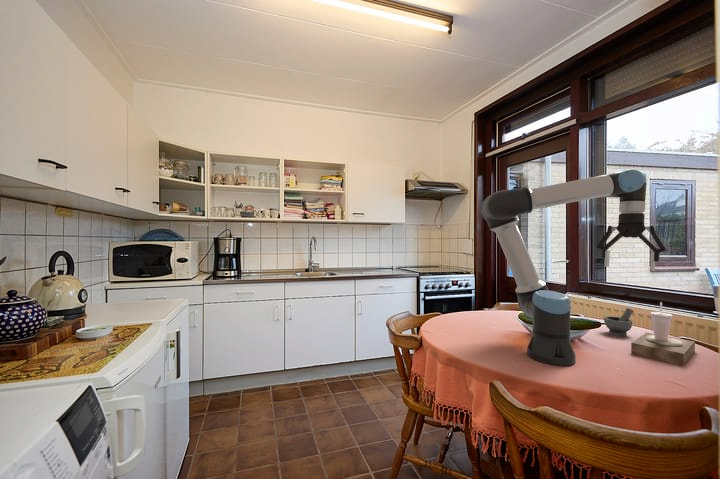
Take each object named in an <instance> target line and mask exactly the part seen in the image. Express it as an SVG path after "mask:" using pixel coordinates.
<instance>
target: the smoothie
mask: <svg viewBox="0 0 720 479" xmlns="http://www.w3.org/2000/svg"><path fill="white" fill-rule="evenodd" d="M649 315H650V316H651V317H650V318H651V322H652V324H651V325H652V331H653V334H654V338H655V339H658V340H664V341H667V340H668V337H670V331H671V330H670V329H671V325H672V319H673V318H674V315H673V314H671V313H668V312H667V313H666V312H663V302H662V301H660V302H659V311H651V312H650V313H649Z"/></svg>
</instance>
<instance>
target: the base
mask: <svg viewBox="0 0 720 479" xmlns="http://www.w3.org/2000/svg"><path fill="white" fill-rule="evenodd" d="M695 345H696V341H694V340H689V339H684V338H678V337H674V336H673V337H672V336H668V340H667V341H664V340H658V339H655V338H654V333H652V332H645V333H644V334H642V335H640V336H639V337H637V338H636V339H635V340H633V341H632V342H631V348H630V350H631V352H630V353H631V354H634V355H637V356H638V355H639V356H642V357H646V358H650V359H654V360H659V361H664V362H668V363H670V364H671V363H672V364H676V365H681V366H685V365H686V363H687V362H688V361H689V360H690V358H692V356H693V355H694V353H695V352H696V346H695Z"/></svg>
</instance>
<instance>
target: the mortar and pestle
mask: <svg viewBox="0 0 720 479" xmlns="http://www.w3.org/2000/svg"><path fill="white" fill-rule="evenodd" d="M633 313H634V310H633V309H632V308H629V307H626V308H625V311H624V312H623V314H622V315H621V316H620V317H619V316H604V317H603V321H604V322H603V323H604V324H605V326H606V328H607V329H608V330H609V331H608V333H609V334H610V335H612V336H617V337H627V336H628V333H627V332H629V331H630V330H631V329H632V326H633V320H631V319H630V318H631V316H632V314H633Z"/></svg>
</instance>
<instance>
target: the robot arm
mask: <svg viewBox="0 0 720 479" xmlns="http://www.w3.org/2000/svg"><path fill="white" fill-rule="evenodd" d="M647 179H648V178H647V174H646V172H644V171H641V170H640V169H637V168H629V169H624V170H622V171H618V172H613V173H607V174H602V175H598V176H593V177H592V176H591V177H587V178H582V179H577V180H576V179H575V180H571V181H566V182H561V183H556V184H551V185H545V186H541V187H534V188H529V187H528V186H525V187H521V188H512V189H503V190H498V191H495V192H494V193H492V194H490V195H488V196H486V198H485V199H484V200H483V201H482V203H481V206H480V213H481V216H482V218H483V219H484V220H485V221H486V222H487V225H488V228H489V231H492V232H494V233H495V234H496V236H497V239H498V242H499V244H500V247H501V249H502V251H503V254H504V256H505V260H506V261H507V264H508V267H509V268H510V270H511V274H512V276H513V278H514V280H515V283H516V288H515V290H514V291H515V294H516V297H517V304H518V306H519V309H520V310H521V312H522V313H524V314H525V315H526V316H527V317H529V318H531V319H532V333H531V336H530V339H529V342H528V345H527V347H526V355H527V356H528V357H529V358H531V359H533V360H535V361H537V362H540V363H544V364H546V365H547V364H549V365H553V366H561V367H563V366H564V367H565V366H566V367H567V366H573V365H575V364H576V363H577V360H576V359H577V355H576V353H575V349H574V347H573V344H572V341H571V310H572V305H571V299H570V297H569V296H568V295H567V294H564V293H562V292H557V291H554V290H549V287H548V286H547V284H546V282H545V281H543V280H541V279H540V277H539V275H538V272H537V270H536V267H535V265H534V263H533V260H532V258H531V256H530V252H529V251H528V249H527V246H526V244H525V241H524V239H523V236H522V233H521V232H520V229H519V227H518V223H519V221H520V219H519V216H522V215H526V214H531V213H533V211H534V210H538V209H543V208H544V209H545V208H548V207H554V206H560V205H566V204H570V203H576V202H581V201H587V200H591V199H593V200H594V199H598V198H616V199H619V203H618V204H619V206H618V212H619V214H618V224H617V226H614V225H608V226H607V231H606V232H605V234H604V235H603V237H602V238H601V240H600V241H599V243H598V244H597V246H596V248H597V249H598V250H599V249H600V250H601V251H602V252H601V254H602V255H601V256H602V257H601V258H602V259H604V267H606V268H609V267H610V256H611V250H609V249H610V248H611V247H613V246H614V245H615V243H617V242H618V241H620V239H622V238H623V237H624V238H635V239H636V238H639V239H640V240H641V241H642V242H643V243H644V244H645V245H646V246H648V248H649V249H651V250H652V251H653V252H651V254H650V267H649V268H650V269H649V271H650V272H651V271H653V272H654V271H655V270H656V263H658V262H660V253H663V252H667V251H668V249H667V247H666V246H665V244H664V243H663V241H662V239H661V238H660V236H659V234H658V233H657V229H656V228H657V227H656V225H650V226H645V219H646V218H645V217H646V216H645V215H646V214H645V212H646V196H647V186H648V183H647V181H648V180H647ZM646 230H647V232H648V233H650V235H651V236H652V238H653V240H654V242H655V243H656V244H657V246H658V247H657V246H656V245H655V244H654V243H652V241H651V240H649V239H648V238H647V237H646V235H645V234H643V233H644V232H645V231H646ZM615 231H617V232H618V233H617V234H616V235H615V236H614V237H613V238H612V239H611V240H610V241H608V240H609V238H610V237H611V235H612V233H613V232H615ZM607 241H608V242H607Z"/></svg>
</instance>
